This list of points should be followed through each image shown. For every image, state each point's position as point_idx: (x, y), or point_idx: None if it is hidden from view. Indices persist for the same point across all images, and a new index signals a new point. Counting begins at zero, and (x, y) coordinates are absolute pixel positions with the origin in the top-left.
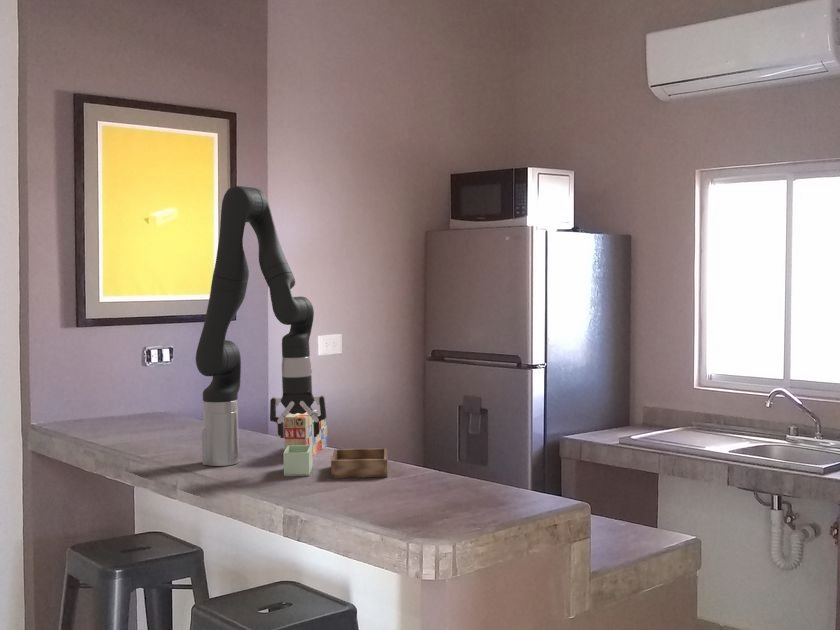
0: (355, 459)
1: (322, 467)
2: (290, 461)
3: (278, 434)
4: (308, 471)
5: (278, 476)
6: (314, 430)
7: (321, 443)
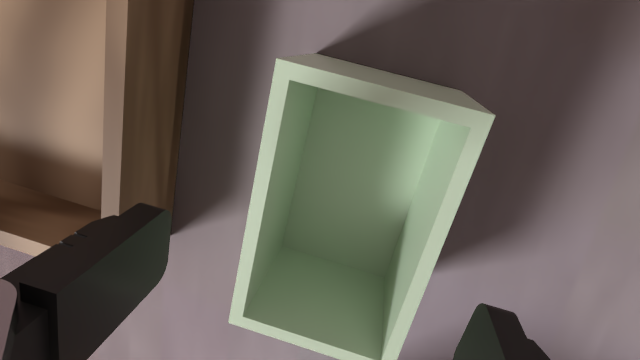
0: (52, 208)
1: (227, 234)
2: (427, 90)
3: (541, 353)
4: (314, 55)
5: (491, 108)
6: (120, 232)
7: None
